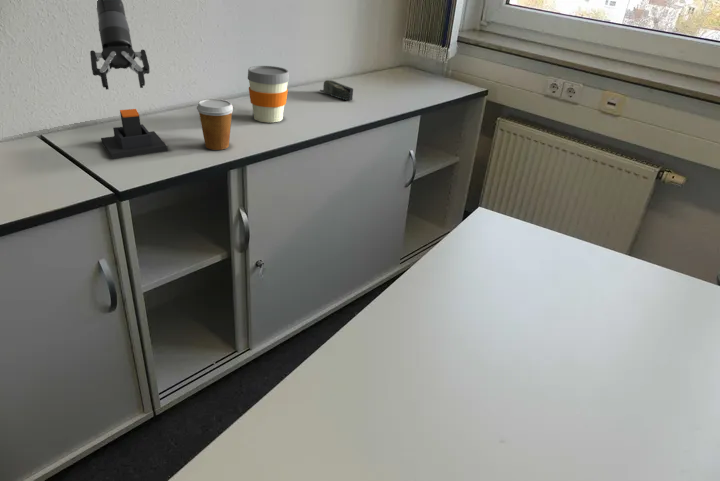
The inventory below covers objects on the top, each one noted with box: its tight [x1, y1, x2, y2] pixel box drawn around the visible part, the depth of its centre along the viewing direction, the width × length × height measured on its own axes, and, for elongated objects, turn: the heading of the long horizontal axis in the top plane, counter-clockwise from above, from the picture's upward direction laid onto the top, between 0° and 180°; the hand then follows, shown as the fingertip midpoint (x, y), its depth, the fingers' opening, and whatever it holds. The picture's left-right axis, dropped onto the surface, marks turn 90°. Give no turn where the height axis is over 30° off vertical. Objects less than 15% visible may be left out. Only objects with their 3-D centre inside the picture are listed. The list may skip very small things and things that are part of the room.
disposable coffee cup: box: [196, 98, 235, 151], centre depth 147 cm, size 10×10×12 cm
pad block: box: [119, 108, 142, 137], centre depth 143 cm, size 4×5×8 cm
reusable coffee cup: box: [247, 65, 290, 123], centre depth 169 cm, size 13×13×15 cm
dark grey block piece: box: [319, 79, 354, 102], centre depth 197 cm, size 5×3×15 cm
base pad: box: [100, 123, 168, 160], centre depth 144 cm, size 14×12×4 cm
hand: (124, 87), depth 144 cm, fingers open, 8 cm apart
